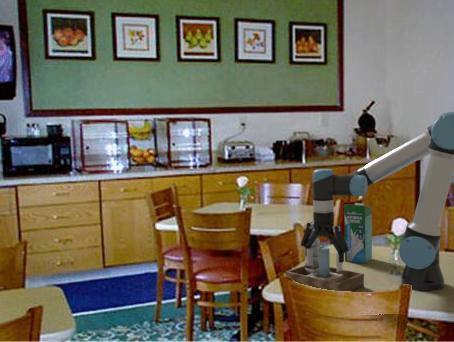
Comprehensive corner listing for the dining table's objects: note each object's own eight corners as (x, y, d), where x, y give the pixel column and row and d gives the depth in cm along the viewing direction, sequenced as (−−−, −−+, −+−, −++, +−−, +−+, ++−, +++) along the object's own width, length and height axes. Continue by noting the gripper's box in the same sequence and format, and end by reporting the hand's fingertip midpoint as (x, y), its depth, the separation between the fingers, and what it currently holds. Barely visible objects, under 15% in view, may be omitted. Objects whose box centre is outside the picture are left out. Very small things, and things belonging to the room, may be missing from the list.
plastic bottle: (315, 282, 221) (314, 231, 219) (300, 279, 226) (299, 229, 224) (324, 278, 226) (323, 228, 224) (310, 275, 231) (309, 226, 229)
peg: (331, 282, 218) (331, 248, 216) (325, 285, 215) (325, 250, 213) (323, 280, 220) (322, 247, 219) (316, 283, 218) (316, 249, 216)
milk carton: (372, 258, 254) (371, 202, 251) (365, 263, 246) (364, 205, 244) (352, 256, 259) (351, 200, 256) (344, 261, 251) (344, 204, 249)
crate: (363, 286, 215) (363, 273, 214) (339, 297, 204) (339, 283, 203) (311, 275, 232) (310, 263, 231) (285, 284, 220) (285, 271, 220)
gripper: (358, 212, 208) (358, 271, 210) (302, 206, 226) (303, 260, 228) (346, 215, 203) (347, 275, 205) (290, 209, 220) (291, 264, 222)
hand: (324, 268), depth 216 cm, fingers open, 13 cm apart
